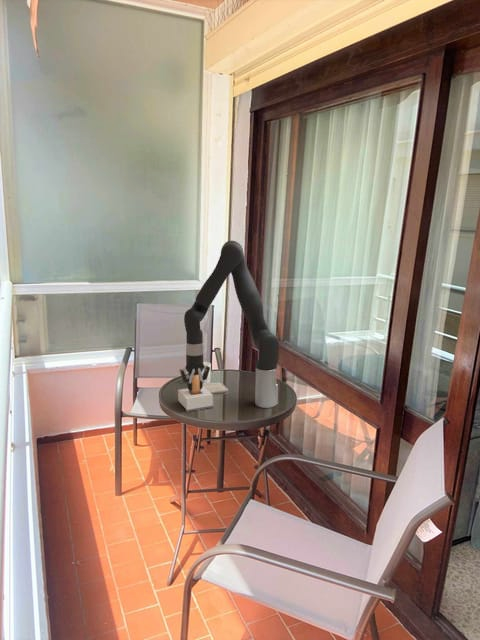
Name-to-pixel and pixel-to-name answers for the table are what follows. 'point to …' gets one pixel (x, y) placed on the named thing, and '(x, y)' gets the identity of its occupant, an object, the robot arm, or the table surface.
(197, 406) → the socket block
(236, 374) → the table surface
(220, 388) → the washcloth
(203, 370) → the white cup
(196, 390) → the plug
